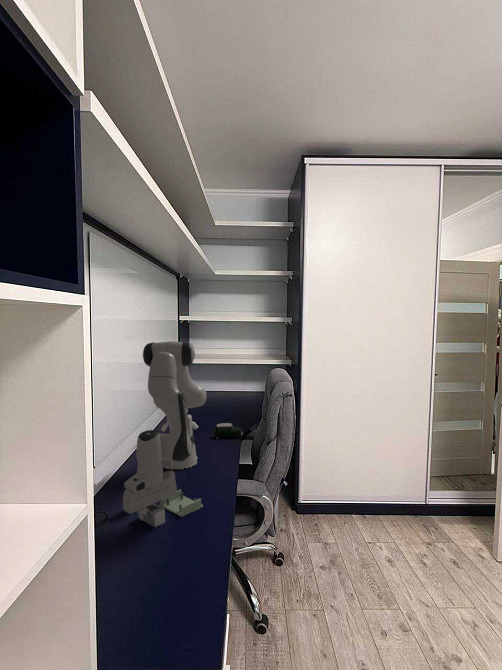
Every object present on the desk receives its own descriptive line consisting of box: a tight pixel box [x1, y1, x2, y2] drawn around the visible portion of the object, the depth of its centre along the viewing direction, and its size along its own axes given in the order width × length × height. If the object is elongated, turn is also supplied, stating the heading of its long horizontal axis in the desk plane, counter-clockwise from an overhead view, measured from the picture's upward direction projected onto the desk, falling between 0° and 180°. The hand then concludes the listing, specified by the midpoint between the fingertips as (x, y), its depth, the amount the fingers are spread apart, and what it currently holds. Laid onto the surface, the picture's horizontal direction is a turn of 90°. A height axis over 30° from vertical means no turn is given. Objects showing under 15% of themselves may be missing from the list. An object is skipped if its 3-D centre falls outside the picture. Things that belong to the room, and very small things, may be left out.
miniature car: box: [212, 422, 243, 439], centre depth 234 cm, size 9×18×8 cm, turn 93°
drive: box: [138, 503, 166, 528], centre depth 139 cm, size 10×4×5 cm, turn 48°
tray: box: [163, 489, 204, 518], centre depth 148 cm, size 14×10×3 cm
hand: (151, 515), depth 139 cm, fingers open, 6 cm apart
